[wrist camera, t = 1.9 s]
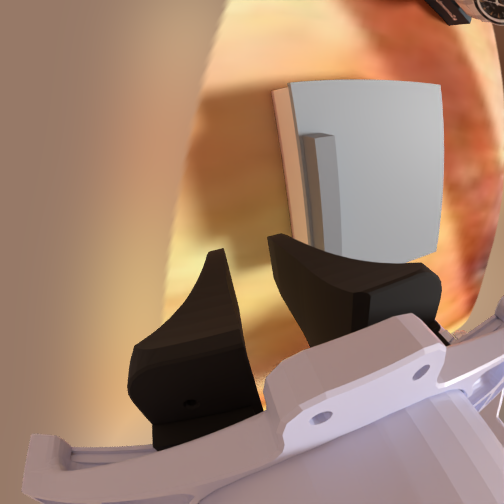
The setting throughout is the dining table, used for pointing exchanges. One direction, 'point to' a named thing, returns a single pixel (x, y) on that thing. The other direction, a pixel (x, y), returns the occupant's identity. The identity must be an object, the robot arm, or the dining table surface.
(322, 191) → the lid
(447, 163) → the dining table surface
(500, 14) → the watch
